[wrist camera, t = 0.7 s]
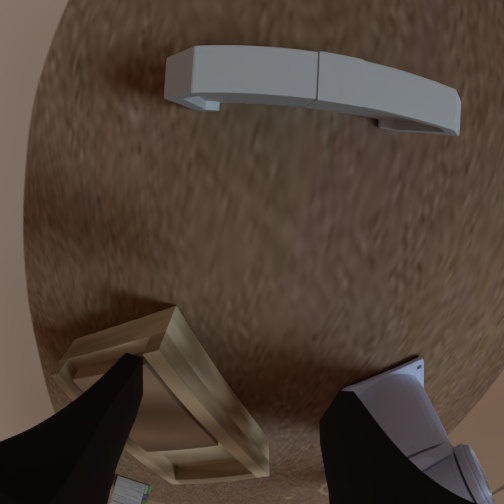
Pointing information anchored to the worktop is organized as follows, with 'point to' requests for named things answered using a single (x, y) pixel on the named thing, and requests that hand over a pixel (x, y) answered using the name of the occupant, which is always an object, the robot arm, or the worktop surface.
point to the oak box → (187, 391)
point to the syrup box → (129, 492)
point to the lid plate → (155, 412)
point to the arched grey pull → (310, 86)
